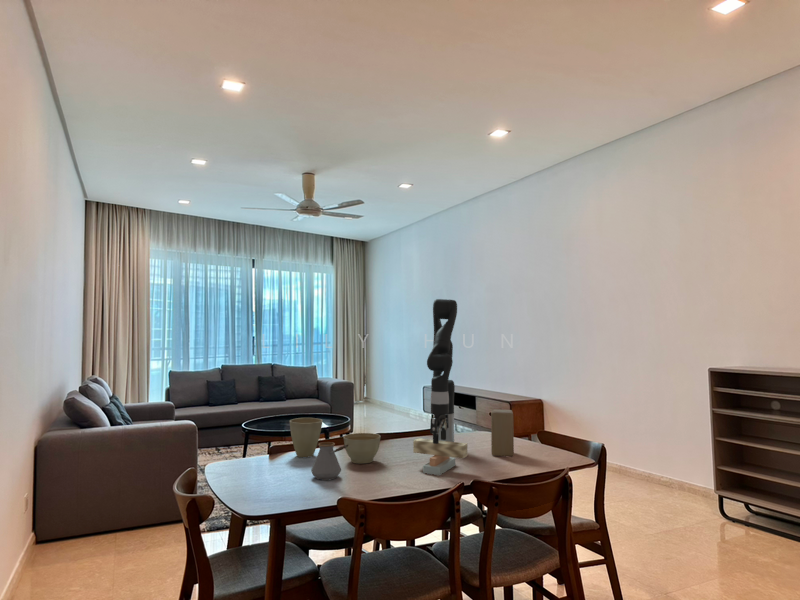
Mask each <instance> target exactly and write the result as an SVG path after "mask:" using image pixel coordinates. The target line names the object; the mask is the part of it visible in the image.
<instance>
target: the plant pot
mask: <svg viewBox="0 0 800 600" xmlns="http://www.w3.org/2000/svg"><path fill="white" fill-rule="evenodd" d="M323 421H324V420H323V419H321V418H315V417H298V418H297V417H296V418H293V419H290V420H289V428H290V436H291V440H292V445H293V448H294V451H295V455H296V457H298V458H303V457H306V458H311V457H312V458H313V456H314V455H315V453H316V449H317V447H318V444H319V440H320V436H321V432H322V427H323Z"/></svg>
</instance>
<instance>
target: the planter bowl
mask: <svg viewBox="0 0 800 600" xmlns="http://www.w3.org/2000/svg"><path fill="white" fill-rule="evenodd" d="M343 443H344V445H349V446H348V447H346V449H345V451H346V454H347V455H348V457H349V458H350V462H351V463H353V464H360V465H361V464H369V463H373V462H374V458H375V457H376V455H377V453H378V451H379V448H380V444H381V435H380V434H378V433H371V432H357V433H356V432H355V433H350V434H346V435H344V436H343ZM344 445H343V446H344ZM350 447H351V448H350ZM349 449H350V450H349Z"/></svg>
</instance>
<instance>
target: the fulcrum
mask: <svg viewBox="0 0 800 600" xmlns="http://www.w3.org/2000/svg"><path fill="white" fill-rule="evenodd" d="M455 466H456V458H455V457H446V456H438V455H432V456H431V457H429V462H427V463H425V464H423V466H422V467H423V468H422V470H423V473H422V474H425V473H427V475H432V474H434V475H433V476H441V475H443V474H444V473H446V472H447V471H449V470H451V469H452V468H454V467H455ZM442 473H443V474H442Z"/></svg>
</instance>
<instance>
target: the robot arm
mask: <svg viewBox="0 0 800 600" xmlns="http://www.w3.org/2000/svg"><path fill="white" fill-rule="evenodd" d="M457 315H458V303H457V301H456V300H455V299H442V298H436V299H434V301H433V304H432V317H433V318H432V319H433V344H432V346H433V347H432V348H431V351H430V353H429V355H428V356H427V360H426V366H427V368H428V370H430V371H431V372H433V373H432V378H431V385H430V386H431V389H430V391H431V392H430V413H431V414H432V415H434V416H433V417H432V418H430V431H429V432H430V434H432V440H433V443H434V444H438V443H439V441H449V442H455V391H456V389H455V387H456V386H455V382H454V381H453V380H452V379H450V373H451V369H452V367H453V353H454V352H453V351H454V350H453V345H454V344H453V341H452V334H453V331H454V327H455V323H456V319H457ZM441 320H447V321H446V322H445V323H444V324H442V321H441Z"/></svg>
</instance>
